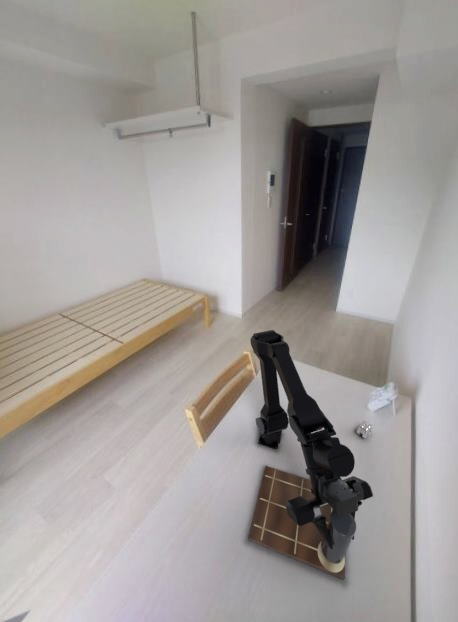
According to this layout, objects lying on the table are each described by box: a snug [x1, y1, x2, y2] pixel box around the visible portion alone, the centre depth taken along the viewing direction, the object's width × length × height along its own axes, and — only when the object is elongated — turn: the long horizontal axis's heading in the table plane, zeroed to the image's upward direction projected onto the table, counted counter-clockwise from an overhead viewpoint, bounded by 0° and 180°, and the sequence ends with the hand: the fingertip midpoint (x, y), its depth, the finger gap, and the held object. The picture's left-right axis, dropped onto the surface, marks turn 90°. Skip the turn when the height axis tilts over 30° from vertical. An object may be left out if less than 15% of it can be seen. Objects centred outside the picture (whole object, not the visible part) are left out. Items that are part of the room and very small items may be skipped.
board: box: [248, 465, 346, 581], centre depth 71 cm, size 22×19×2 cm
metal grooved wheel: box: [356, 419, 373, 439], centre depth 91 cm, size 5×3×5 cm, turn 129°
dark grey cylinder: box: [321, 510, 357, 564], centre depth 58 cm, size 5×5×13 cm
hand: (341, 543), depth 57 cm, fingers closed on dark grey cylinder, 5 cm apart
